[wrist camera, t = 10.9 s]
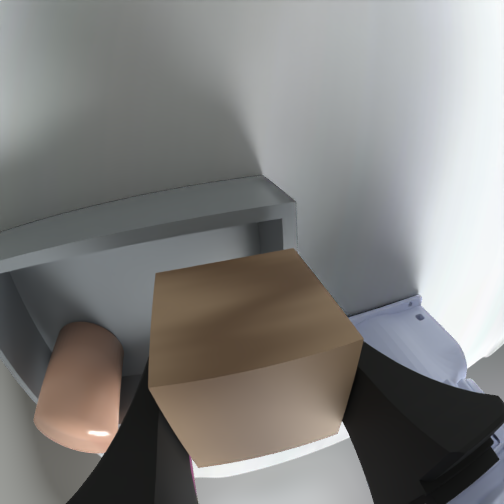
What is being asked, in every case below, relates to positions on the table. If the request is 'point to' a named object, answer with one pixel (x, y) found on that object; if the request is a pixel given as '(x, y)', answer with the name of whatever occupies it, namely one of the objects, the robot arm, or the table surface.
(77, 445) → the terracotta cylinder
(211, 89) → the table surface
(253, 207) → the tote
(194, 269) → the walnut cube
